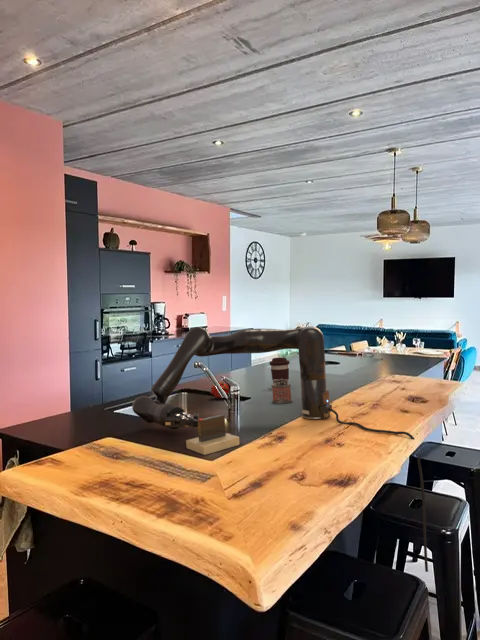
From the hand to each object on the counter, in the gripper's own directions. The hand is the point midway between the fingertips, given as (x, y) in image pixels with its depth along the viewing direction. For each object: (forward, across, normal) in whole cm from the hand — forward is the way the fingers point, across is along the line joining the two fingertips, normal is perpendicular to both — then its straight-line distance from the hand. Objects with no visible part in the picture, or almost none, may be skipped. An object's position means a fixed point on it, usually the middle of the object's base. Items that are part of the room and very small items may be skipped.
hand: (197, 423), depth 148 cm
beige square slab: (+2, +4, +8) cm, 9 cm away
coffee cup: (-53, +84, +8) cm, 99 cm away
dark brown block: (+2, +4, +5) cm, 7 cm away
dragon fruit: (-57, +50, +8) cm, 76 cm away
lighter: (-28, +61, +8) cm, 67 cm away
